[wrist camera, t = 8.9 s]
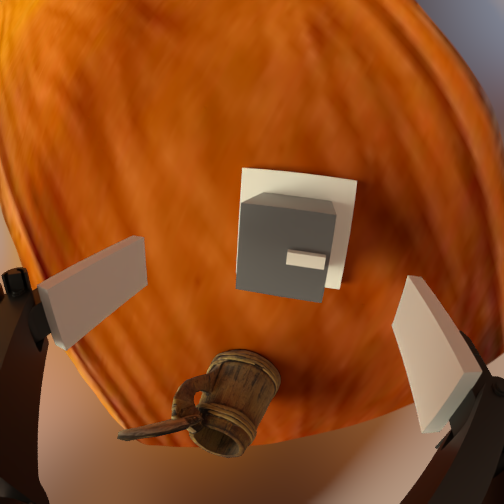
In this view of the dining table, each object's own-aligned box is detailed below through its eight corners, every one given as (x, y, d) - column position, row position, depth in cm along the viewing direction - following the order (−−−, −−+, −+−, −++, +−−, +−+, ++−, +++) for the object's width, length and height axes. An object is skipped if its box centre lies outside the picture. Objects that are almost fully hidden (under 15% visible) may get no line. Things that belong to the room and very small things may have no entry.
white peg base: (246, 167, 25) (223, 168, 19) (355, 180, 23) (366, 185, 17) (240, 267, 28) (218, 295, 22) (338, 282, 26) (342, 316, 20)
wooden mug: (231, 308, 30) (146, 436, 13) (293, 388, 32) (263, 515, 15) (177, 334, 33) (93, 435, 17) (238, 404, 35) (193, 509, 18)
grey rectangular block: (257, 257, 26) (233, 292, 19) (263, 192, 24) (238, 204, 17) (321, 266, 25) (321, 307, 18) (331, 201, 23) (337, 216, 16)
